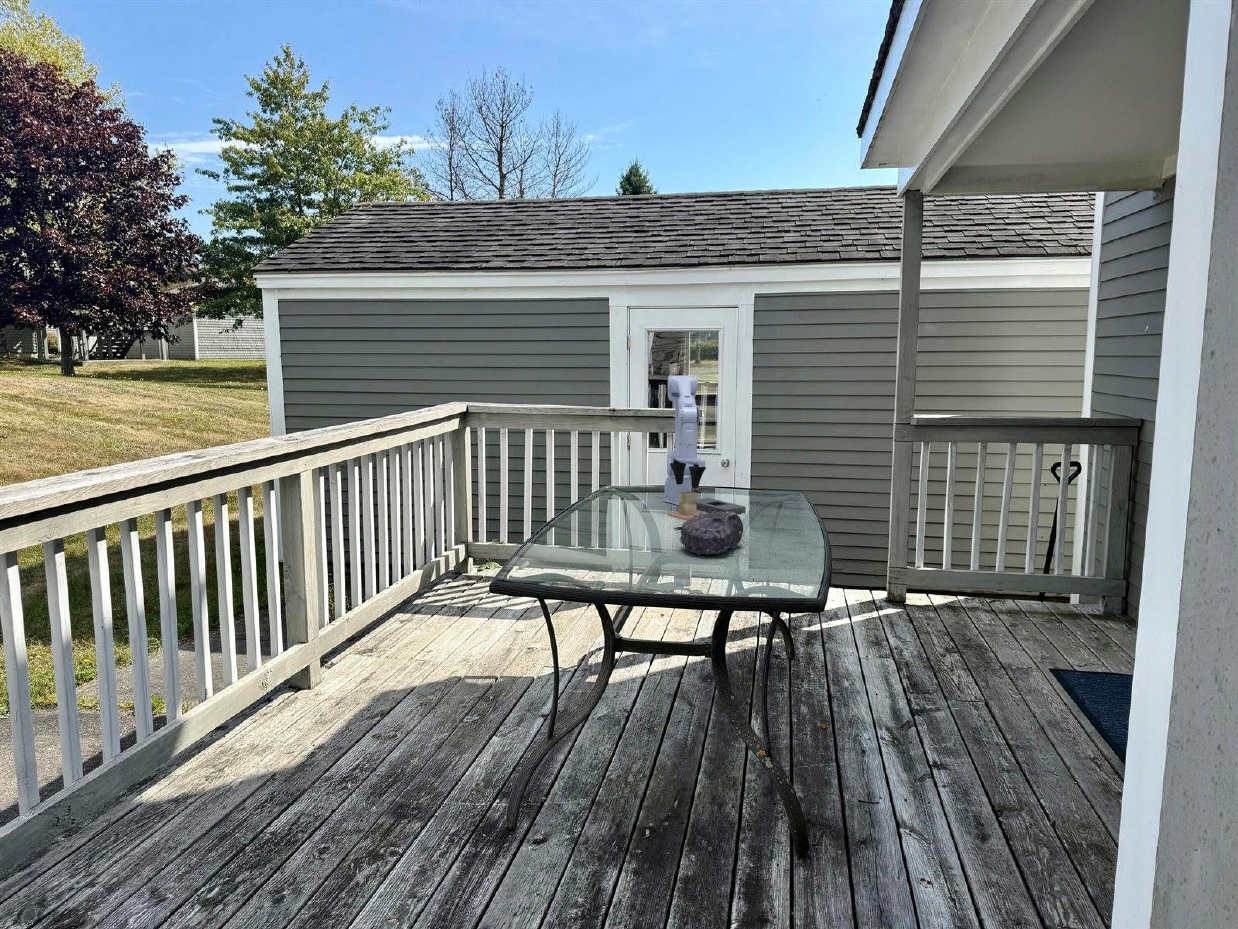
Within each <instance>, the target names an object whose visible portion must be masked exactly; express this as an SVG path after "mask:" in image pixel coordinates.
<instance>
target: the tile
mask: <svg viewBox="0 0 1238 929" xmlns="http://www.w3.org/2000/svg"><path fill="white" fill-rule="evenodd" d="M700 513H701V512H697V511H696V514H695V515H697V516H699V514H700ZM666 515H667V516H668V517H673V518H677V519H679V520H683V521H688V520H689V519H691V518H693V516H695V515H688V516H686V515H682V514H679V510H678V511H675V512H674V511H672V512H667V513H666Z"/></svg>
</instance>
